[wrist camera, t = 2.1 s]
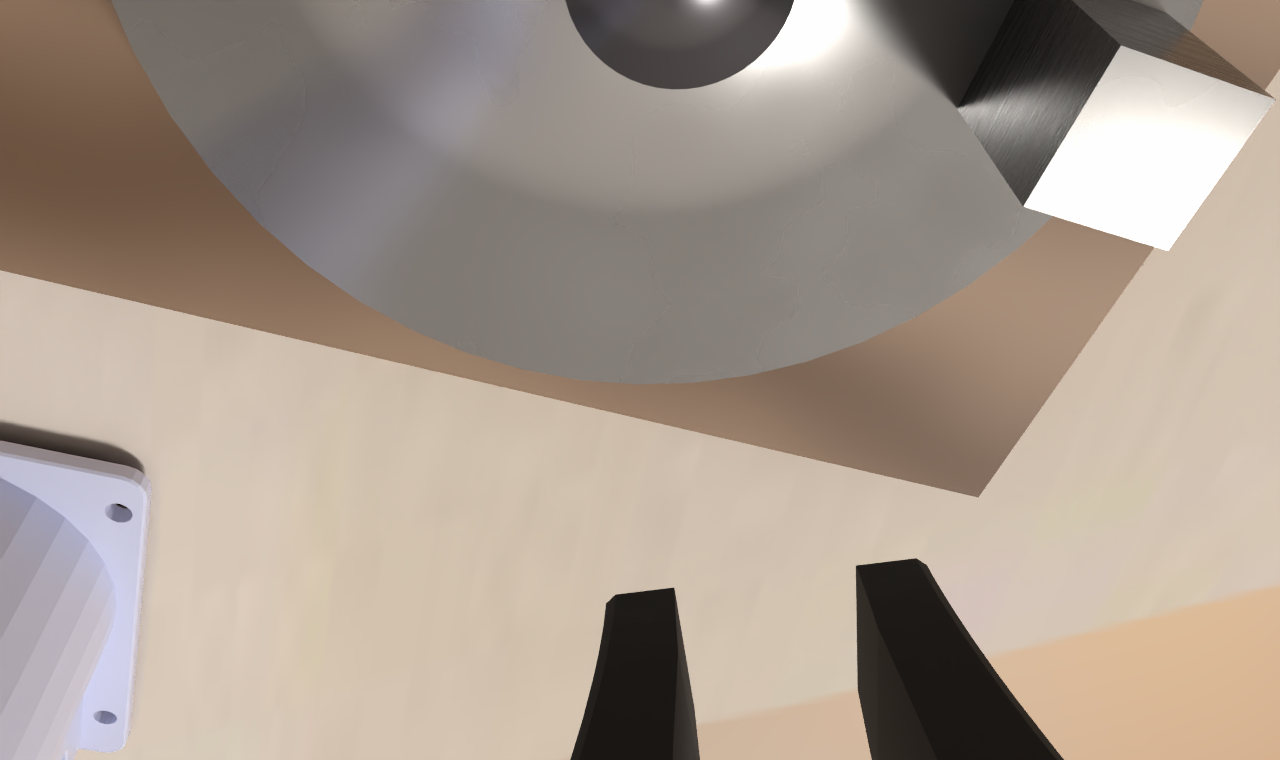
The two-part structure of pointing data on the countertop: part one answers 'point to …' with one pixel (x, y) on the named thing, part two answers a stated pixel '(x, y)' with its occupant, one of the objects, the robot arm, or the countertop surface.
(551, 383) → the base plate
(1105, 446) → the countertop surface
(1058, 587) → the countertop surface
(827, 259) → the silver round platter
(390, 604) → the countertop surface
